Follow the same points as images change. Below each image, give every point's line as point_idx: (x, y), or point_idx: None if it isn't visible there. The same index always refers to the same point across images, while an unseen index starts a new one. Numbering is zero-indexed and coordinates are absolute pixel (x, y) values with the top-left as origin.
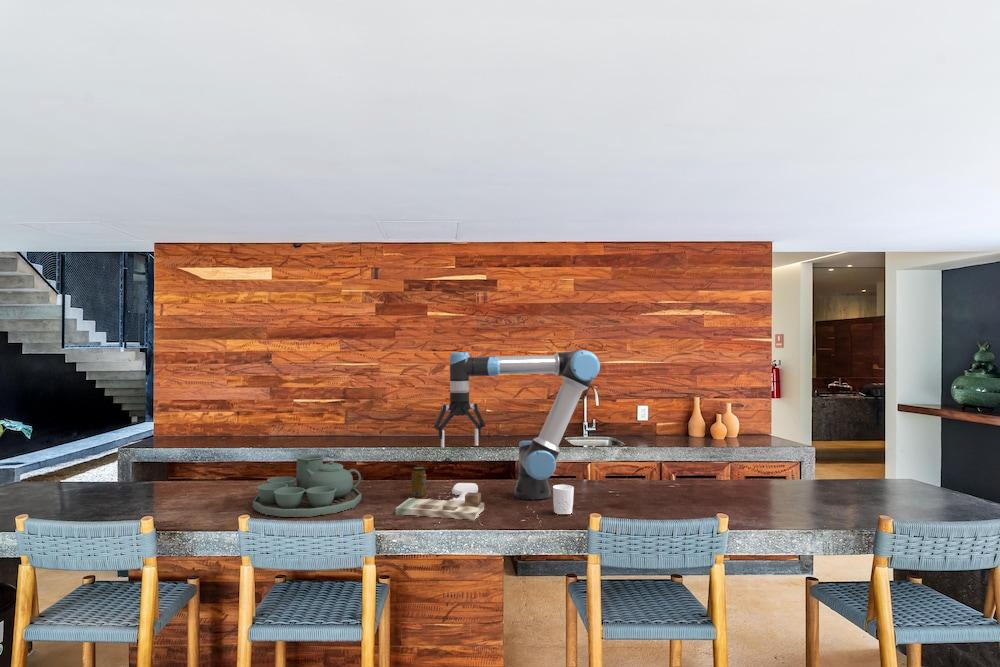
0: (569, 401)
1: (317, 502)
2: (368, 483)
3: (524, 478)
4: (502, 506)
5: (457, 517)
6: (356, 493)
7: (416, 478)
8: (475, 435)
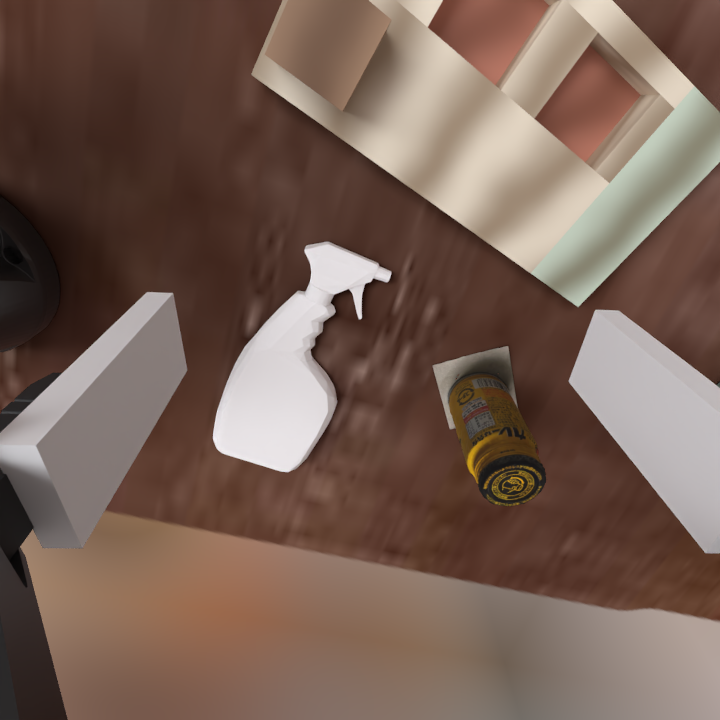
0: None
1: None
2: (555, 572)
3: None
4: (145, 107)
5: None
6: None
7: (524, 428)
8: (127, 411)
